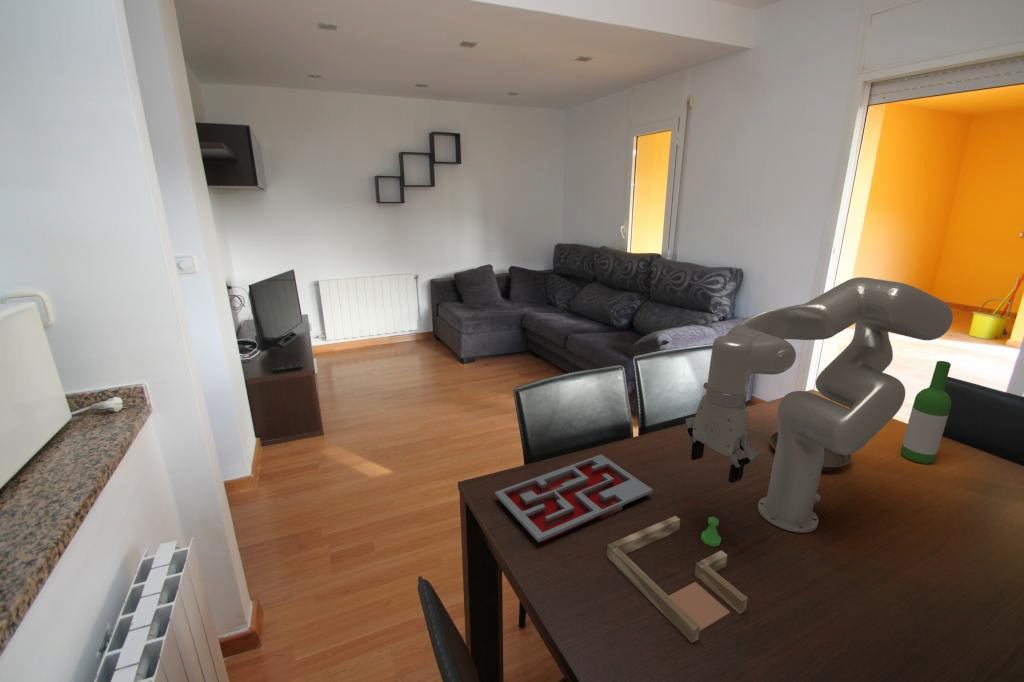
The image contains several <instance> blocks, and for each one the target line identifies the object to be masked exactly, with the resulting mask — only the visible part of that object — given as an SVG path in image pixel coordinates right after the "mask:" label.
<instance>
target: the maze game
mask: <svg viewBox="0 0 1024 682" xmlns="http://www.w3.org/2000/svg"><path fill="white" fill-rule="evenodd" d="M652 493H653V488H651V487H650V486H648V485H647V484H645V483H644V482H642V481H641V480H640V479H638V478H636V477H635V476H633V474H631V473H629V472H627V471H626V470H625V469H624V468H622V467H621V466H619V465H618V464H616V463H614V462H613V461H612V460H611V459H609V458H608V457H606V456H604V455H603V454H598V455H595V456H593V457H590V458H586V459H584V460H582V461H579V462H575V463H573V464H570V465H567V466H565V467H562V468H559V469H556V470H553V471H550V472H547V473H544V474H541V475H539V476H537V477H533V478H531V479H528V480H525V481H522V482H519V483H517V484H514V485H511V486H507V487H505V488H502V489H499V490H496V491H494V495H495V496H496V498H498V500H499V501H500V502H501V503H502V504H503V505H504V507H505V508H506V509H507V510H508V511H509V512H510V513H511V515H513V517H514V518H515V519H516V520H517V521H518V522H519V523H520V524H521V525H522V526H523V527H524V528H525V530H527V532H528V533H529V534H530V535H531V536H532V537H533V538H534V540H535V541H536V542H538V543H542V544H543V543H545V542H547V541H550V540H552V539H554V538H557V537H558V536H561V535H563V533H564V534H566V533H567V532H570V531H572V529H573V530H574V528H575V529H576V528H578V527H582V526H584V525H585V523H586V524H588V523H590V521H591V522H593V521H594V519H595V518H597V517H598V516H599V517H600V518H601V520H604V519H605V517H606V518H608V517H610V516H612V514H613V515H614V513H615V514H617V513H619V512H621V510H622V511H623V506H625V505H626V504H629V503H631V502H634V501H635V500H638V499H640V498H643V497H645V496H647V495H650V494H652ZM616 512H617V513H616ZM609 515H610V516H609ZM607 516H608V517H607ZM599 517H598V518H599ZM600 518H599V519H600ZM603 518H604V519H603ZM592 520H593V521H592ZM587 522H588V523H587ZM583 524H584V525H583ZM581 525H582V526H581Z"/></svg>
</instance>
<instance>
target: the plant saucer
mask: <svg viewBox="0 0 1024 682" xmlns="http://www.w3.org/2000/svg"><path fill="white" fill-rule="evenodd" d="M768 440H769V444H770V445H771V447H772V449H773V451H774V452H776V446H777V440H778V431H776V432H774V433H772V434H771V435H770V437H769V439H768ZM852 459H853V457H852V454H850V455H840V454H837V453H834V452H832V451H830V450H828V449H826V448H824V463H823V467H822V471H821V472H830V471H835V470H838V469H841V468H843V467H845V466H847V465H848V464H849V463H851V461H852Z"/></svg>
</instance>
